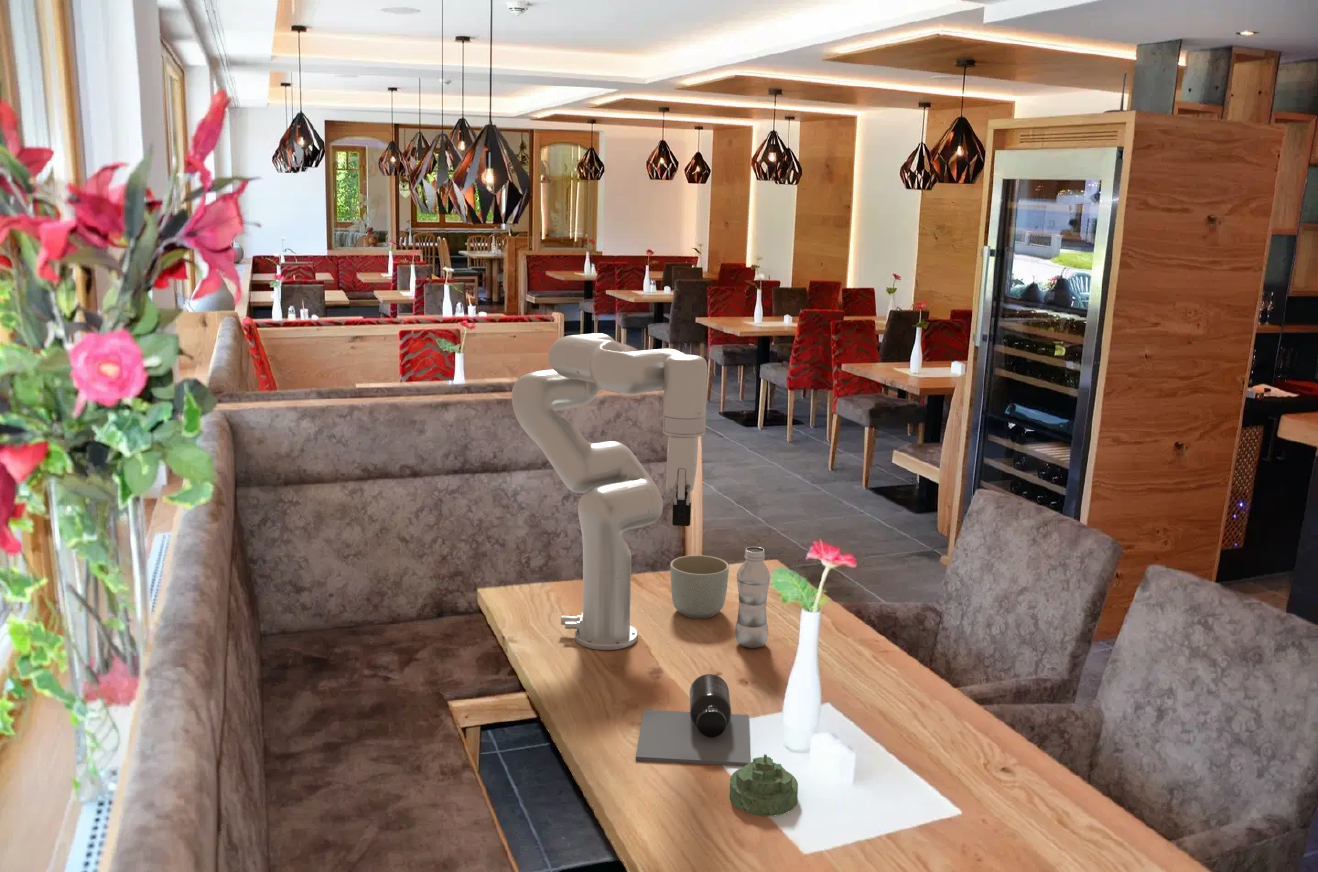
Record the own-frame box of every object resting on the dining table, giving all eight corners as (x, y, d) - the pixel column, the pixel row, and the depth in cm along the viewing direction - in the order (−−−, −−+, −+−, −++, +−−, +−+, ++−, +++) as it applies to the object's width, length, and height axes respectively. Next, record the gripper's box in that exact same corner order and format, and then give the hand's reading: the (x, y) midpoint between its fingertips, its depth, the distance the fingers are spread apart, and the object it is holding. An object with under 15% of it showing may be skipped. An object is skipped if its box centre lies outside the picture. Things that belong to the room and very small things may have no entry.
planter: (661, 604, 233) (663, 557, 230) (715, 599, 236) (716, 553, 234) (679, 626, 221) (681, 576, 219) (735, 620, 225) (737, 571, 223)
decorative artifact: (720, 784, 162) (743, 821, 152) (721, 742, 160) (745, 776, 151) (781, 776, 164) (808, 811, 155) (783, 734, 163) (810, 767, 154)
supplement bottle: (681, 685, 183) (682, 717, 171) (715, 665, 182) (718, 696, 171) (702, 716, 184) (704, 750, 173) (736, 697, 183) (740, 730, 172)
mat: (635, 760, 168) (635, 756, 168) (643, 712, 183) (643, 709, 183) (750, 766, 167) (750, 762, 167) (748, 718, 182) (748, 714, 182)
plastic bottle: (769, 652, 209) (773, 555, 205) (734, 651, 209) (738, 554, 205) (766, 639, 216) (771, 544, 211) (733, 638, 216) (736, 543, 211)
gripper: (665, 416, 196) (663, 512, 200) (660, 433, 181) (657, 536, 185) (706, 417, 196) (703, 513, 200) (704, 434, 181) (701, 538, 185)
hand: (681, 524), depth 192 cm, fingers closed
